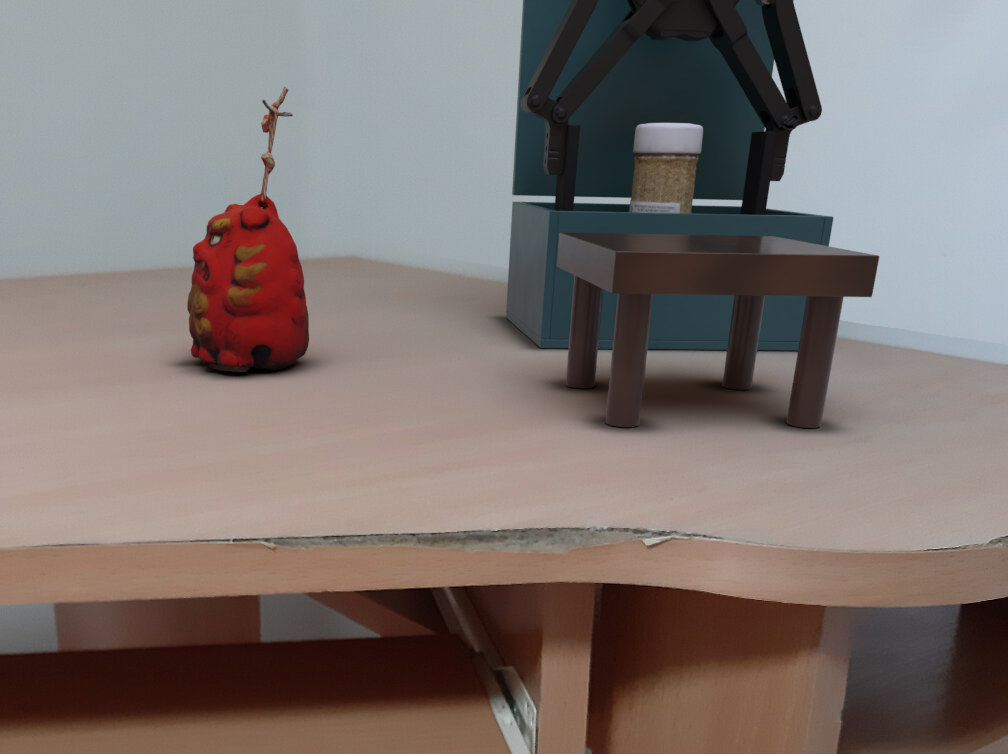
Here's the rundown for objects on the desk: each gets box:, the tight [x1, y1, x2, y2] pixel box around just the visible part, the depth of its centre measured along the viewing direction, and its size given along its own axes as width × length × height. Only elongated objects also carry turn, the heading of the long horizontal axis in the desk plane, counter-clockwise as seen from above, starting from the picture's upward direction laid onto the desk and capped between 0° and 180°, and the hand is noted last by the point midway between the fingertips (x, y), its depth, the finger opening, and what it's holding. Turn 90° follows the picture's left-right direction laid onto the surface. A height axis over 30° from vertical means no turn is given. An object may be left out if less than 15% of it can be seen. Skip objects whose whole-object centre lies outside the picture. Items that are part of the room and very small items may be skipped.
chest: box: [505, 201, 834, 352], centre depth 76 cm, size 14×19×9 cm
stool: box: [557, 232, 880, 429], centre depth 54 cm, size 12×12×8 cm
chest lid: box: [511, 0, 775, 201], centre depth 78 cm, size 15×19×1 cm
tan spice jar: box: [629, 123, 703, 213], centre depth 75 cm, size 5×5×13 cm
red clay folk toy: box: [186, 86, 310, 373], centre depth 60 cm, size 8×7×15 cm
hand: (656, 229), depth 75 cm, fingers open, 13 cm apart
